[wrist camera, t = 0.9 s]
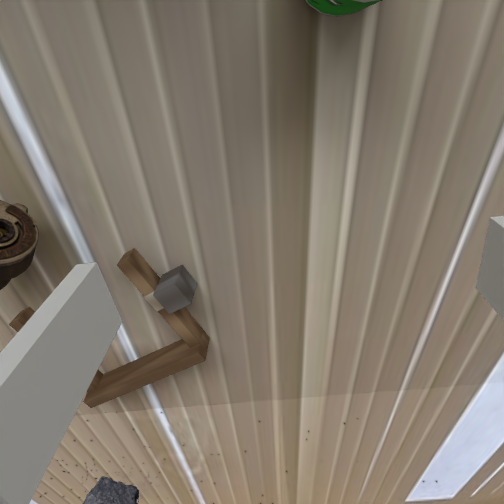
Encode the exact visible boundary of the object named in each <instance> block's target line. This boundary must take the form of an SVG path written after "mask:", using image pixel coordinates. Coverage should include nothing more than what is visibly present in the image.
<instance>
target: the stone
mask: <svg viewBox="0 0 504 504" xmlns="http://www.w3.org/2000/svg"><path fill="white" fill-rule="evenodd" d="M138 498H139V490H138V489H137V487H135V486H133V485H125V484H124V483H122V482H115V481H113V480H112V479H109V478H108V477H104V476H102V477H101V478H100V480H99V481H98V482H97V484H96V485H95V487H94V488H93V489H92V490H91V491H90V492H89V493H88V494H87V496H86V499H85V501H84V503H83V504H138V503H136V501H137V499H138ZM138 502H139V500H138Z"/></svg>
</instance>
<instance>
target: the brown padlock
mask: <svg viewBox="0 0 504 504" xmlns="http://www.w3.org/2000/svg"><path fill="white" fill-rule="evenodd" d="M27 213H28V208H26V207H25V206H24V205H21V204H18V203H17V204H14V205H11V204H8V203H6V202H4V201H2V200H0V290H1V289H2V288H4V287H5V286H6V285H7V284H8V282H9V281H10V280H11V278H14V277H16V276H18V275H20V274H21V273H23V272H24V271H25V270H26V269H27V268H28V267H29V265H30V264H31V262H32V259H33V256H34V252H35V248H36V244H37V242H38V236H39V234H38V229H37V225H36V224H35V222H34V220H33V219H32V218H31V217H30V216H29V215H28V214H27Z"/></svg>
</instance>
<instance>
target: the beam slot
mask: <svg viewBox="0 0 504 504" xmlns="http://www.w3.org/2000/svg"><path fill="white" fill-rule="evenodd" d="M117 266H118V267H119V268H120V269H121V270H122V272H123V273H124V274H125V275H126V276H127V277H128V278H129V279H130V281H131V282H132V283H133V284H134V285H135V286H136V287H137V288H138V290H139V291H140V292H141V293H142V294H143V295H144V298H145V299H146V300H147V301H148V303H149V304H150V305H151V306H152V307H153V308H154V309H155V310H156V311H158V312H159V313H160V314H161V315H162V317H163V318H164V319H165V320H166V321H167V322H168V323H169V324H170V326H171V327H172V328H173V329H174V330H175V331H176V332H177V333H178V335H179V336H180V337H181V338H182V340H180V341H178V342H175V343H173V344H171V345H169V346H166V347H164V348H162V349H160V350H157V351H155V352H153V353H151V354H148V355H146V356H144V357H142V358H139V359H137V360H135V361H133V362H130V363H128V364H126V365H124V366H121V367H119V368H117V369H115V370H112V371H110V372H108V373H106V374H102V373H101V372H100V371H99V370H97V372H96V374H95V376H94V378H93V380H92V382H91V384H90V386H89V388H88V390H87V392H88V393H87V395H86V397H85V399H84V401H83V402H84V403H85V404H87V405H88V406H89V407H90V408H92V407H95V406H97V405H99V404H102V403H104V402H107V401H109V400H112V399H114V398H116V397H119V396H121V395H124V394H126V393H128V392H131V391H133V390H136V389H138V388H140V387H143V386H145V385H148V384H150V383H152V382H155V381H157V380H160V379H162V378H164V377H167V376H169V375H172V374H174V373H176V372H179V371H181V370H184V369H186V368H188V367H191V366H193V365H196V364H198V363H200V362H203V361H205V359H206V354H207V349H208V344H209V339H210V337H209V336H208V335H207V334H206V333H205V331H204V330H203V329H202V328H201V327H200V325H199V324H198V323H197V322H196V321H195V319H194V318H193V317H192V316H191V315H190V314H189V312H188V311H187V310H186V309H185V308H184V307H185V306H187V305H189V304H191V302H192V298H193V295H194V292H195V288H196V285H197V283H196V281H195V280H194V279H193V278H192V276H191V275H190V274H189V273H188V271H187V270H186V269H185V267H184V266H183V265H181V266H179V267H177V268H175V269H173V270H171V271H169V272H167V273H165V274H163V275H162V276H161V279H160V278H159V277H158V275H157V274H156V273H155V272H154V271H153V270H152V268H151V267H150V266H149V265H148V264H147V262H146V261H145V260H144V259H143V258H142V256H141V255H140V254H139V253H138V252H137V250H136V249H135V248H134V249H132V250H131V251H129V252H127V253H125V254H124V255H123V257H122V258H121V260H120V261H119V263H118V264H117ZM34 313H35V312H34V311H33V310H32V309H31V308H30V307H28V308H27V309H25V310H23V311H21V312H20V313H19V314H18V315H17V316H16V317H15V319H14V320H13V321H12V322H11V323H10V324H9V325H10V326H11V327H12V328H14V329H15V330H16V331H17V332H19V331H20V330H21V328H22V327H23V326H24V325H25V324H26V323H27V321H28V320H29V319H30V318H31V317H32V316H33V314H34Z"/></svg>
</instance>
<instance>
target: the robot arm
mask: <svg viewBox="0 0 504 504" xmlns="http://www.w3.org/2000/svg"><path fill="white" fill-rule="evenodd" d="M476 289H477V290H478V291H479V292H480V294H481V295H482V296H483V297H484V298H485V299H486V300H487V302H488V303H489V304H490V305H491V306H492V307H493V308H494V310H495V311H496V312H497V313H498V314H499V315H500V316H501V318H502V319H503V320H504V216H498V217H490V220H489V225H488V230H487V235H486V239H485V244H484V249H483V254H482V259H481V264H480V268H479V273H478V278H477V283H476ZM121 323H122V320H121V318H120V316H119V313H118V311H117V309H116V306H115V304H114V302H113V299H112V297H111V294H110V292H109V290H108V287H107V285H106V283H105V280H104V278H103V276H102V273H101V271H100V269H99V266H98V264H97V262H95V263H86V264H77V265H75V267H74V268H73V269H72V270H71V271H70V272H69V274H68V275H67V276H66V277H65V278H64V279H63V281H62V282H61V283H60V284H59V285H58V286H57V288H56V289H55V290H54V291H53V292H52V293H51V295H50V296H49V297H48V298H47V299H46V300H45V302H44V303H43V304H42V305H41V306H40V307H39V309H38V310H37V311H36V312H35V313H34V314H33V316H32V317H31V318H30V319H29V320H28V321H27V323H26V324H25V325H24V326H23V327H22V328H21V330H20V331H19V332H18V333H17V334H16V335H15V337H14V338H13V339H12V340H11V341H10V342H9V343H8V345H7V346H6V347H5V348H4V349H3V350H2V352H1V353H0V504H29V503H30V501H31V499H32V497H33V495H34V493H35V491H36V489H37V487H38V485H39V483H40V481H41V479H42V477H43V475H44V473H45V471H46V469H47V467H48V466H49V464H50V462H51V460H52V458H53V456H54V454H55V452H56V450H57V448H58V446H59V444H60V442H61V440H62V438H63V436H64V434H65V432H66V430H67V428H68V427H69V425H70V423H71V421H72V419H73V417H74V415H75V413H76V411H77V409H78V407H79V405H80V403H81V401H82V399H83V397H84V395H85V393H86V391H87V390H88V388H89V386H90V384H91V382H92V380H93V378H94V376H95V374H96V372H97V370H98V368H99V366H100V364H101V362H102V360H103V358H104V356H105V354H106V352H107V351H108V349H109V347H110V345H111V343H112V341H113V339H114V337H115V335H116V333H117V331H118V329H119V327H120V325H121Z"/></svg>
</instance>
